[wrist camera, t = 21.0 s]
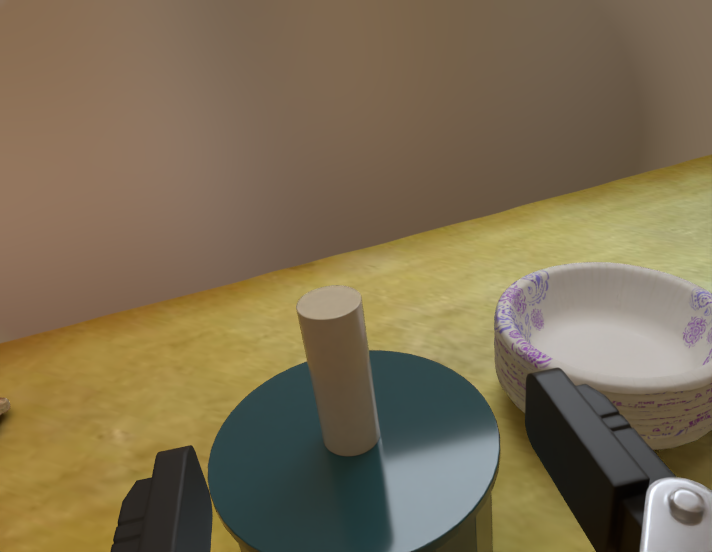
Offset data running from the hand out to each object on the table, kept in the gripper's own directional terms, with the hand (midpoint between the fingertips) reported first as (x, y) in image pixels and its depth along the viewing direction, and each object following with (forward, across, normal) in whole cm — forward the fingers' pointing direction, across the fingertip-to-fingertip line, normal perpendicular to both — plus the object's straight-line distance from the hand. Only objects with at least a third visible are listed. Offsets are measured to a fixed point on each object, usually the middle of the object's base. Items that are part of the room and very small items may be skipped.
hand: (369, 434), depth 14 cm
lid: (+11, 0, -11) cm, 15 cm away
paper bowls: (+19, +19, -20) cm, 34 cm away
